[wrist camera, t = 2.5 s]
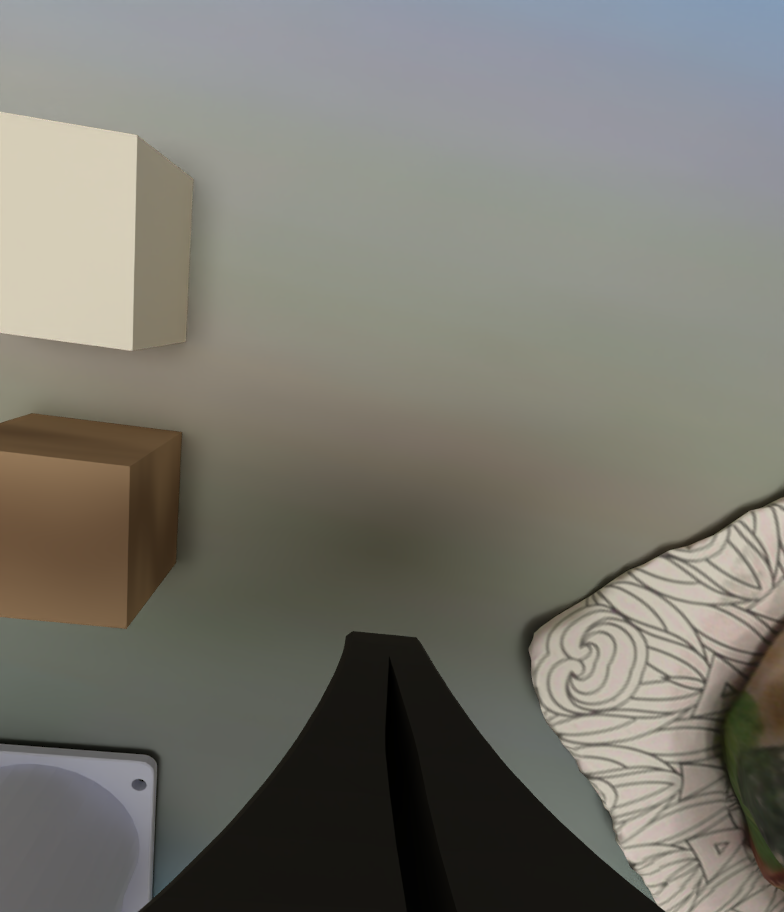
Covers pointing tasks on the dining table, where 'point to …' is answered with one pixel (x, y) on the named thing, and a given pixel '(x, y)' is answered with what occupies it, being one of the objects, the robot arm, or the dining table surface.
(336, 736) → the robot arm
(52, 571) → the walnut block
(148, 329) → the cream block
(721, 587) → the cookie jar
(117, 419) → the dining table surface
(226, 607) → the dining table surface
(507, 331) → the dining table surface
